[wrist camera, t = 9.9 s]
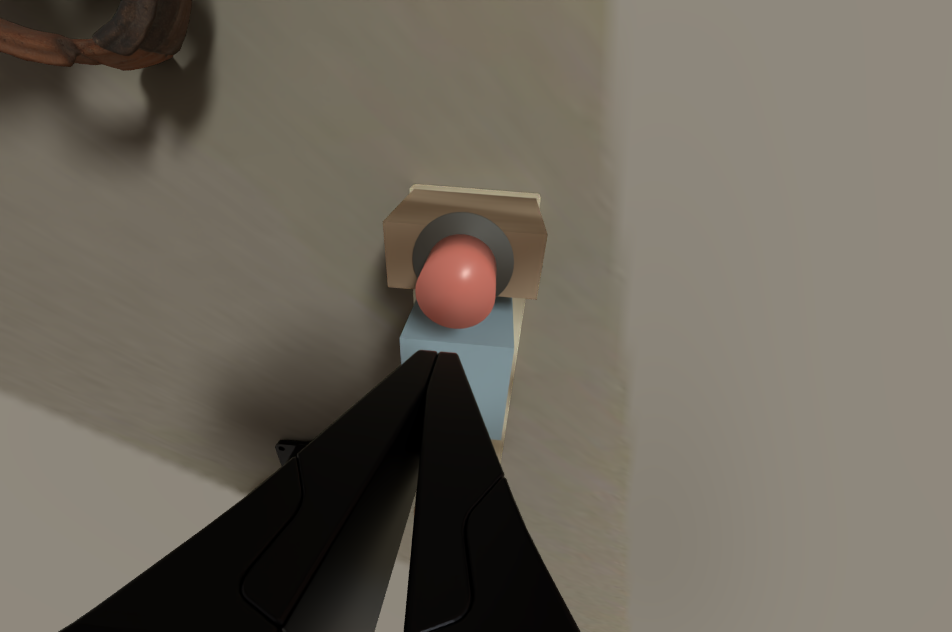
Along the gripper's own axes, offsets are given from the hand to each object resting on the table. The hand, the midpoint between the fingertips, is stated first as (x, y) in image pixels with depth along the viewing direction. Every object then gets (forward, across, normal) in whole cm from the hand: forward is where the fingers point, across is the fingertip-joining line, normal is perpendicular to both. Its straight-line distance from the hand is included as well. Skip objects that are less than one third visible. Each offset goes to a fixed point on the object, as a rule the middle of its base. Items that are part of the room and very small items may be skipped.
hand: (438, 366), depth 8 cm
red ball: (+5, 0, 0) cm, 5 cm away
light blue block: (+11, 0, +5) cm, 12 cm away
